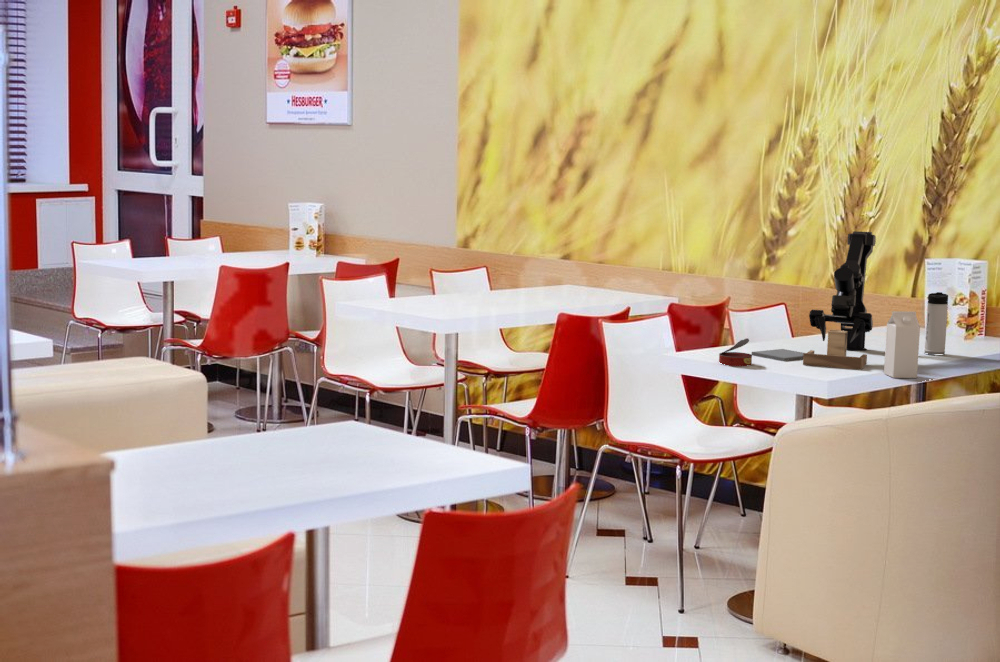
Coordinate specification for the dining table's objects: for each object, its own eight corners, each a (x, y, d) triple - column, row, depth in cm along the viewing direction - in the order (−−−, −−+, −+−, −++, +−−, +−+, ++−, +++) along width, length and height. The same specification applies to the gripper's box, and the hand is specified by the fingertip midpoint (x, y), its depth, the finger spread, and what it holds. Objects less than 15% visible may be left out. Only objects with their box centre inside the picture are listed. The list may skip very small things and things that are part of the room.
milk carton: (883, 374, 377) (887, 310, 374) (907, 374, 377) (911, 310, 375) (893, 378, 370) (897, 313, 367) (917, 378, 370) (921, 313, 368)
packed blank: (829, 361, 398) (831, 329, 397) (845, 363, 396) (847, 331, 395) (826, 364, 394) (828, 331, 392) (843, 365, 392) (844, 333, 390)
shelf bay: (810, 359, 402) (810, 348, 401) (866, 364, 395) (867, 352, 394) (802, 364, 391) (803, 353, 391) (860, 369, 384) (861, 358, 384)
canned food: (731, 381, 387) (719, 353, 384) (719, 372, 397) (707, 345, 394) (764, 364, 388) (752, 336, 385) (751, 355, 397) (739, 328, 394)
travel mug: (945, 353, 420) (949, 292, 417) (943, 356, 414) (947, 294, 411) (925, 352, 422) (929, 291, 420) (923, 354, 416) (927, 293, 414)
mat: (782, 351, 417) (782, 348, 417) (815, 357, 405) (815, 354, 405) (751, 355, 409) (751, 351, 409) (783, 361, 398) (784, 358, 398)
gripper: (811, 283, 399) (803, 322, 390) (873, 287, 391) (866, 327, 383) (815, 306, 407) (806, 345, 399) (875, 310, 400) (868, 349, 391)
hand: (836, 341), depth 393 cm, fingers open, 8 cm apart
